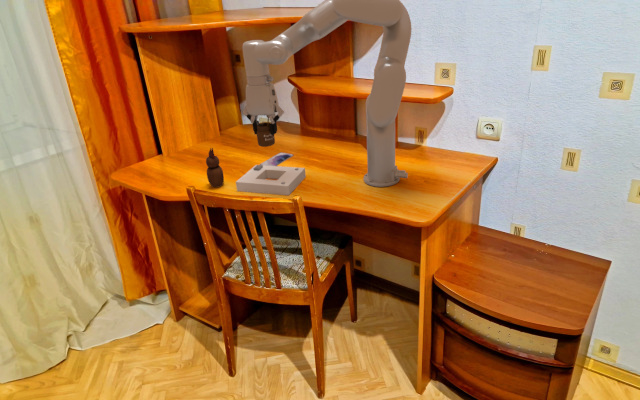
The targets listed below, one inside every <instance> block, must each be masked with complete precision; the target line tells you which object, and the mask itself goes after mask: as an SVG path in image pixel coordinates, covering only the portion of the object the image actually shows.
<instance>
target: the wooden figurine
mask: <svg viewBox="0 0 640 400" xmlns="http://www.w3.org/2000/svg"><path fill="white" fill-rule="evenodd" d="M205 164H206V167H207V169H206V176H207V177H206V178H207V181H208V183H209V185H210V186H211V187H213V188H219V187H221V186H223V184H224V183H225V182H224V180H225V178H224V171H223V168H222V167H221V166H220V159H219V157H218V156H217V155H215V152H214V149H213V147H210V148H209V150H208V156H207V157H206V159H205Z"/></svg>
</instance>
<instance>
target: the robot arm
mask: <svg viewBox="0 0 640 400" xmlns="http://www.w3.org/2000/svg"><path fill="white" fill-rule="evenodd" d="M347 21H350V22H356V23H361V24H367V25H372V26H378V27H382V31H383V32H382V39H381V43H380V49H379V53H378V55H377V56H378V57H377V60H376V63H375V67H374V69H373V80H372V81H373V82H372V85H371V90H370V93H369V95H368V96H367V97H366V100H365V120H366V121H365V123H366V154H367V158H366V159H367V173H365V174H364V176H363V182H364V184H367V185H368V186H371V187H376V188H377V187H378V188H379V187H380V188H382V187H383V188H384V187H391V186H393V185H396V184H398V183H399V181H400V179H401V178H402V179H408V176H409V175H408V174H409V173H408V172H406V170H403V169H402V170H399V168H398V165H396V118H397V115H398V112H399V108H400V106H401V102H402V98H403V95H404V91H405V86H406V82H407V72H406V69H405V65H406V61H407V56H408V52H409V47H410V43H411V38H412V22H411V21H412V20H411V17H410V14H409V12H408V10H407V8H406V6H405V5H404V3H403V2H401V0H324V1H322V2H321V3H319V4H317V5H316V6H314V8H312V9H311V10H309V11H308V12H306V14H304V15H303V16H302V17H301V18H300V19H299V20H298V21H296V23H294V24H292V25H291V26H290V27H289V28H287V29H286V30H284V31H283V32H281V33H280V34H278V35H277V36H276V37H274V38H273V39H271V40H267V41H264V40H263V39H252V40H247V41H244V42H243V43H242V54H243V60H244V67H245V75H246V82H247V84H245V85H246V86H245V104H246V105H245V107H244V108H243V109H242V112H241V113H242V114H243V115H244V116H245V117H246V118H247V119H248V120H249V121H250V123H251V124H252V131H253V133H254V135H257V130H258V129H257V125H258V123H259V124H260V120H258V119H259V118H258V117H259V116H267V115H268V117H269V122H270V123H271V124H270V130H271V135H274V136H275V134H277V133H278V132H277V131H278V125H277V122H278V121H279V119H280V118H281V117H282V116H283V115H284V114H285V110H283V109H282V108H281V106H279V100H278V95H277V91H276V88H275V85H274V83H273V81H274V80H275V78H274V76H271V74H270V66H269V65H273V66H274V65H277V66H279V65H282V64H285V63H286V62H287V61H288V59H289V58H290V57H292V56H293V55H294V54H296V53H297V52H299V51H300V50H301V49H303V48H305V47H306V46H307V45H309V44H311V43H312V42H315V41H318V40H321V39H322V38H323V39H324V37H326V36H327V35H328V34H330V33H331V32H333V31H335V30H336V29H337V28H338V27H340V26H341V25H343V24H345V23H346V22H347ZM276 113H277V114H276ZM256 117H257V119H256ZM257 122H258V123H257Z"/></svg>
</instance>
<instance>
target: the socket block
mask: <svg viewBox="0 0 640 400" xmlns="http://www.w3.org/2000/svg"><path fill="white" fill-rule="evenodd" d="M306 177H307V175H306V168H305V167H294V166H281V165H279V166H278V165H277V166H266V165H260V164H255V165H253V167H251V168H250V169H249V170H248V171H247V172H246V173H244V174H243V175H242V176H241V177H240V178H239V179H237V180H236V181H235V187H236V192H245V193H247V192H248V193H259V194H267V195H268V194H269V195H278V196H279V195H281V196H290V195H291V194H292V192H294V190H296V188H297V187H298V186H299V185H300V184H301V182H302V181H304V180H305V178H306Z"/></svg>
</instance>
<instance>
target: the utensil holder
mask: <svg viewBox="0 0 640 400" xmlns="http://www.w3.org/2000/svg"><path fill="white" fill-rule="evenodd" d="M256 119H257V120H258V119H259V120H258V121H261V119H260V116H258V118H257V117H256ZM266 119H267V122H264V121H261V122H259V123H258V122H257V123H258V125H257V129H258V130H257V134H256V139H257V144H258V146H259V147H264V148H266V147H271V146H273V145H275V143H276V139H275V134H274V135H271V130H270V124H271V122H270V119H269V117H268V115H266Z"/></svg>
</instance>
